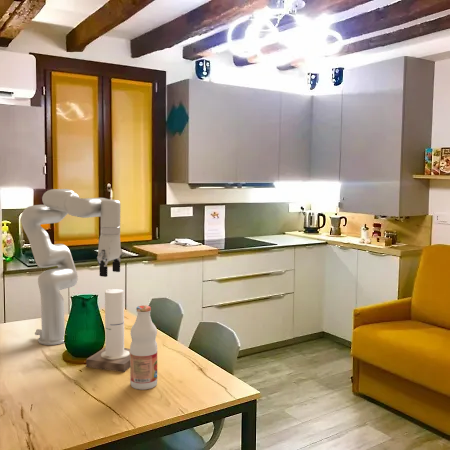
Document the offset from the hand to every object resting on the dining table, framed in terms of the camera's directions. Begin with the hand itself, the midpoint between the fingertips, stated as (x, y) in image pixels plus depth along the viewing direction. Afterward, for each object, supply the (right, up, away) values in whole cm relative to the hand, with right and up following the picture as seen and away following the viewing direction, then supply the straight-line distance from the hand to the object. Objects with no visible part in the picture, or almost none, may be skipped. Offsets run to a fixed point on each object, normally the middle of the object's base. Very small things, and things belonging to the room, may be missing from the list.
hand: (110, 273), depth 209 cm
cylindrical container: (+2, -31, -2) cm, 31 cm away
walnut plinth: (+3, -34, -2) cm, 34 cm away
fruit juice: (+17, -37, -23) cm, 47 cm away
